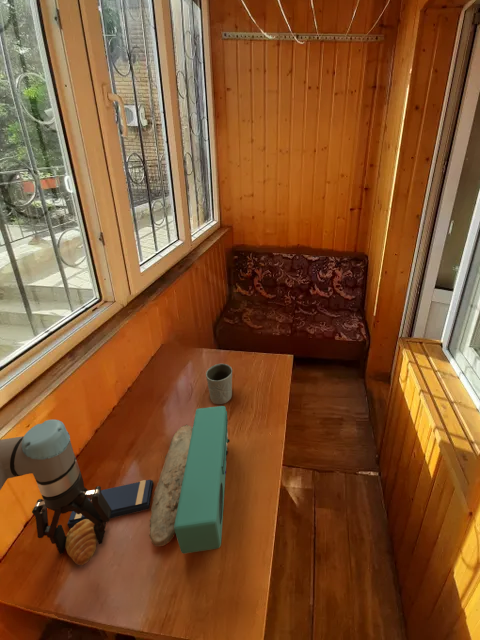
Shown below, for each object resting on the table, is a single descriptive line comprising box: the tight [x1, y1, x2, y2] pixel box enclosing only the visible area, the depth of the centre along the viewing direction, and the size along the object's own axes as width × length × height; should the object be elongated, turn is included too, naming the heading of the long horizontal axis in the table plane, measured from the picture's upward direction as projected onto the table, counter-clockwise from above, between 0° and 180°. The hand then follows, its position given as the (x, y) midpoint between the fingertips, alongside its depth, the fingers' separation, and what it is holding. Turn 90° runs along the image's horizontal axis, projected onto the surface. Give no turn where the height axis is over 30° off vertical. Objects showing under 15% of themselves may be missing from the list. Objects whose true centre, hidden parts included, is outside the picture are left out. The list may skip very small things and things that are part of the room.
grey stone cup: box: [205, 363, 233, 405], centre depth 123 cm, size 10×10×12 cm
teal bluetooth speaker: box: [174, 405, 230, 554], centre depth 88 cm, size 34×10×15 cm, turn 7°
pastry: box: [65, 519, 98, 566], centre depth 78 cm, size 9×7×4 cm
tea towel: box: [67, 479, 154, 529], centre depth 87 cm, size 20×7×3 cm, turn 103°
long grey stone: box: [148, 424, 193, 547], centre depth 93 cm, size 35×5×10 cm
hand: (83, 542), depth 79 cm, fingers closed on pastry, 8 cm apart
